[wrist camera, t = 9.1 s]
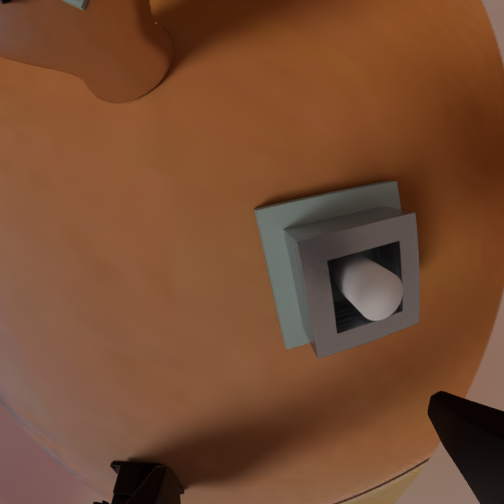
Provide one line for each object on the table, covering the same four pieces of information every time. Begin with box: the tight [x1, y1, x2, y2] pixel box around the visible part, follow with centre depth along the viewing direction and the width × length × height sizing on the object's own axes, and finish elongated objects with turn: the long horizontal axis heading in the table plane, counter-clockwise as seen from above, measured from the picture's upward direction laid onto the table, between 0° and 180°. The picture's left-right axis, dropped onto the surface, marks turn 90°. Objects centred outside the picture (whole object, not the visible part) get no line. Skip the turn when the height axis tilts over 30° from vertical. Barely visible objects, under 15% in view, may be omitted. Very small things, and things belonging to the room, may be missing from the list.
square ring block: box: [283, 206, 420, 359], centre depth 15 cm, size 6×6×4 cm
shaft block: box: [254, 181, 403, 349], centre depth 15 cm, size 9×9×6 cm
